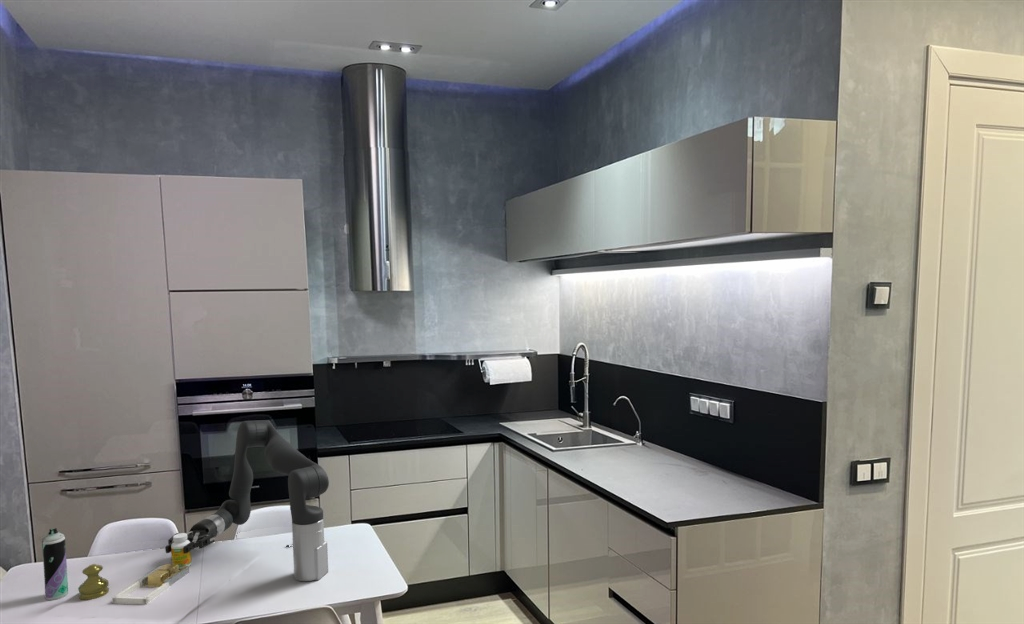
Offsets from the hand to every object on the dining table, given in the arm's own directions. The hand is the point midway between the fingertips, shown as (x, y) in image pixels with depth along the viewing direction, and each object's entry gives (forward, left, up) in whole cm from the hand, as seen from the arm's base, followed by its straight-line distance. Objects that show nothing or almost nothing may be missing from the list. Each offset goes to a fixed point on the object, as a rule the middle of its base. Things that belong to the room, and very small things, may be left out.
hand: (175, 550), depth 202 cm
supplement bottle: (0, -3, -6) cm, 7 cm away
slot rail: (0, +6, -8) cm, 10 cm away
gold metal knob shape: (+13, +17, -8) cm, 23 cm away
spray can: (+26, +17, -8) cm, 33 cm away
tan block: (-1, +8, -7) cm, 11 cm away
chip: (0, +4, -7) cm, 8 cm away
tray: (-1, +16, -8) cm, 18 cm away
